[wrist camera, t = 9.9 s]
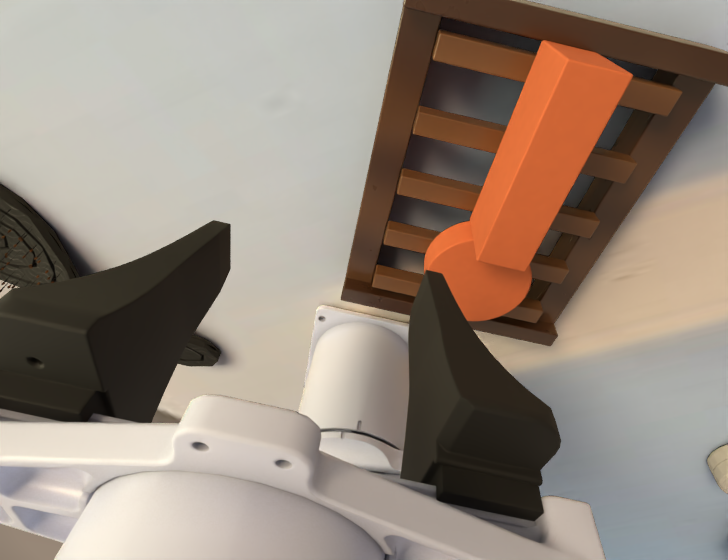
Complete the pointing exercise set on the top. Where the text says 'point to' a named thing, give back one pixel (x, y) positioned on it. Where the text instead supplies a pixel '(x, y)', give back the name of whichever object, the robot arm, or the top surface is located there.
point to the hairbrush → (55, 263)
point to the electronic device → (720, 466)
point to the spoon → (528, 179)
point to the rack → (399, 108)
